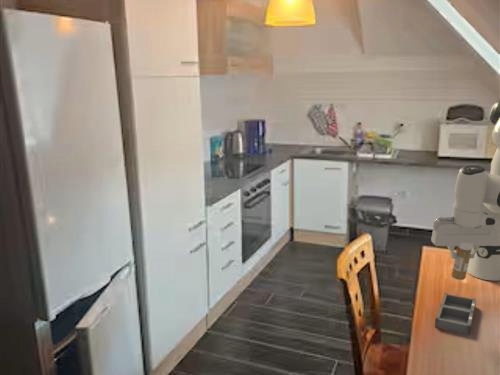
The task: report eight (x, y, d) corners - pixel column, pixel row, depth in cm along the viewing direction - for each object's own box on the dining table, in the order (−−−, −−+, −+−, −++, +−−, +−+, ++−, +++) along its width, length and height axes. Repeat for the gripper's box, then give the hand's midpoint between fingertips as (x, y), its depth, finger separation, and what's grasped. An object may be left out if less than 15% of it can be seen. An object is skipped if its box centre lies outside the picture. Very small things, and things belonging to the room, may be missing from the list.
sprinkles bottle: (468, 280, 153) (476, 245, 147) (454, 280, 153) (462, 245, 147) (461, 272, 157) (469, 237, 152) (448, 272, 157) (455, 237, 151)
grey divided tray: (443, 301, 174) (444, 292, 173) (475, 308, 169) (476, 298, 168) (434, 328, 156) (435, 318, 155) (469, 336, 151) (470, 325, 150)
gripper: (438, 220, 145) (434, 262, 149) (503, 220, 146) (497, 261, 149) (430, 214, 152) (426, 254, 155) (493, 213, 152) (487, 253, 156)
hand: (461, 257), depth 152 cm, fingers closed on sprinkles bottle, 4 cm apart
